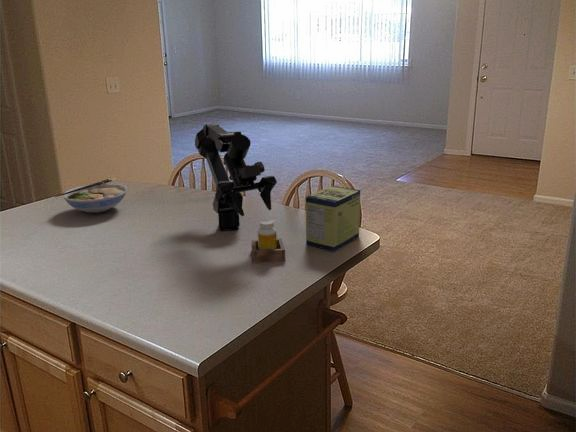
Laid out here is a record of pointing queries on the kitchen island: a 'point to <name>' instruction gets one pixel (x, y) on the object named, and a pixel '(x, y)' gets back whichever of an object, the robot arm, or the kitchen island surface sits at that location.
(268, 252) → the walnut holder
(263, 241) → the supplement bottle
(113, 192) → the ramen bowl
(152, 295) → the kitchen island surface
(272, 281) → the kitchen island surface
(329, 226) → the protein box
